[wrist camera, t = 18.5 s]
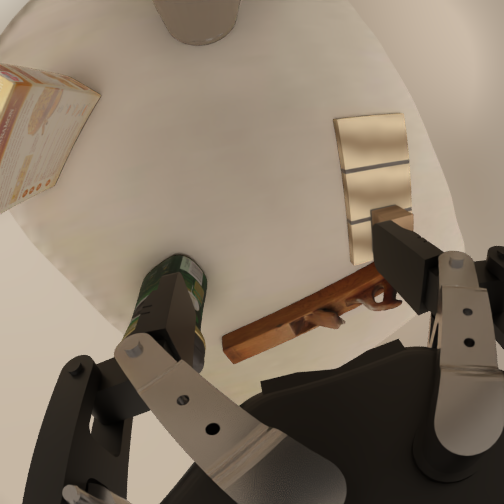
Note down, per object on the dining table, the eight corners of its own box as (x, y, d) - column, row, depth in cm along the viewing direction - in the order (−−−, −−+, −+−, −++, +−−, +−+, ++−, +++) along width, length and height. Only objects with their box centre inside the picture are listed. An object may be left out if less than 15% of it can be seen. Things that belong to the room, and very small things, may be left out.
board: (333, 119, 35) (337, 119, 34) (398, 113, 35) (403, 113, 34) (350, 261, 45) (354, 265, 43) (406, 245, 45) (411, 248, 43)
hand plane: (397, 238, 44) (432, 265, 35) (404, 262, 47) (436, 291, 38) (220, 335, 48) (222, 378, 39) (236, 353, 50) (240, 396, 41)
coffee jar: (170, 314, 45) (154, 407, 28) (136, 280, 42) (100, 368, 25) (217, 282, 44) (219, 376, 27) (182, 244, 40) (161, 328, 24)
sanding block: (370, 209, 40) (387, 221, 35) (395, 204, 40) (413, 214, 35) (372, 252, 43) (387, 266, 38) (395, 245, 43) (412, 258, 38)
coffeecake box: (68, 75, 28) (-24, 58, 10) (103, 95, 30) (15, 81, 13) (24, 165, 32) (-65, 202, 14) (55, 187, 34) (-32, 237, 17)
